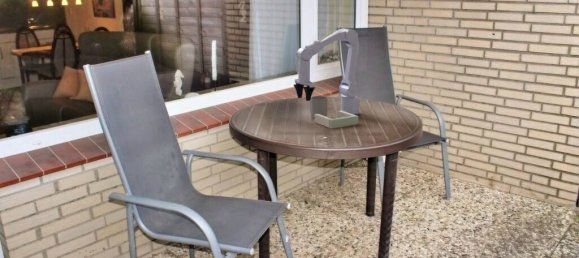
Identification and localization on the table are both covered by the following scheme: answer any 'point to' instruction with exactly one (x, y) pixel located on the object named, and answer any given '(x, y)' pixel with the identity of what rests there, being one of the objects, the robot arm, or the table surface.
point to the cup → (318, 106)
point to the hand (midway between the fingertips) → (304, 99)
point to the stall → (337, 120)
